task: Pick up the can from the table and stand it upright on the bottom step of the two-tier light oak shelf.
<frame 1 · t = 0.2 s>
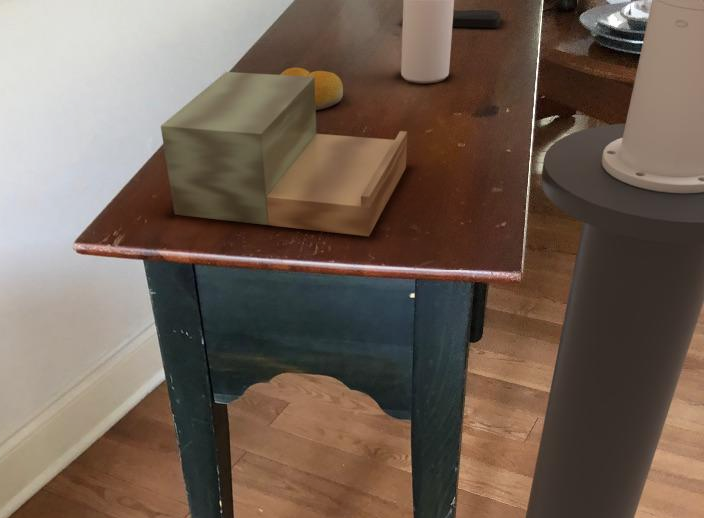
remote control: (451, 24, 129), on the table
shelf: (294, 190, 83), on the table
bread roll: (307, 102, 103), on the table
can: (424, 78, 109), on the table
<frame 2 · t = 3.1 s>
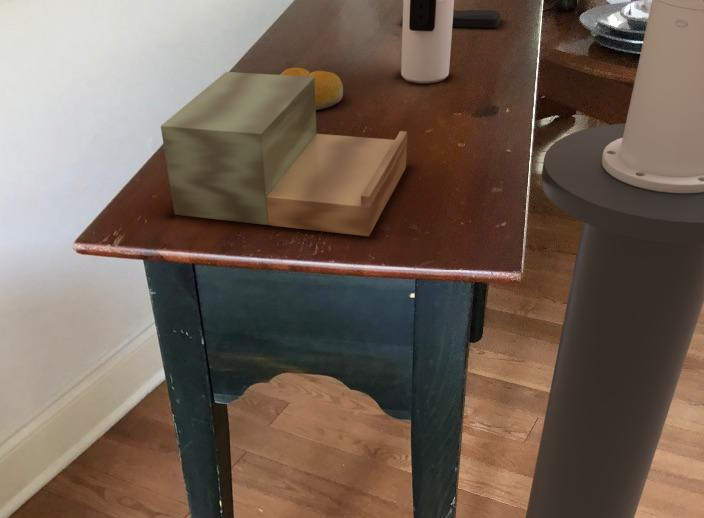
hand: (427, 21, 104), 7 cm above the table, tool pointing down, fingers closed on can, 6 cm apart
can: (424, 78, 109), on the table, touching gripper
everything else where it was.
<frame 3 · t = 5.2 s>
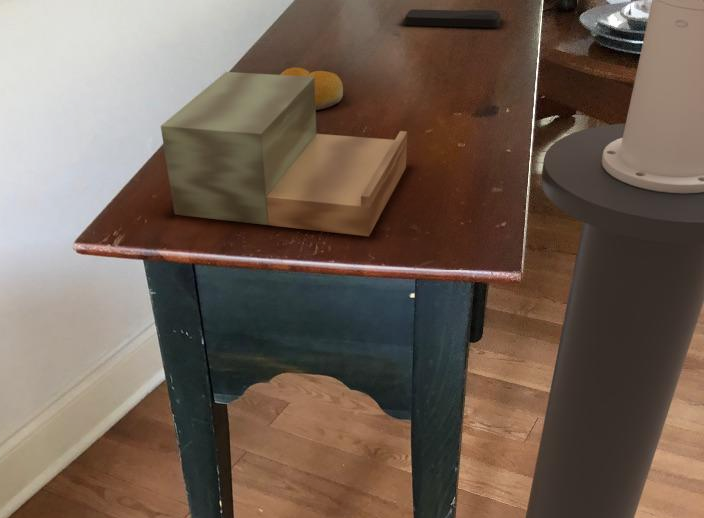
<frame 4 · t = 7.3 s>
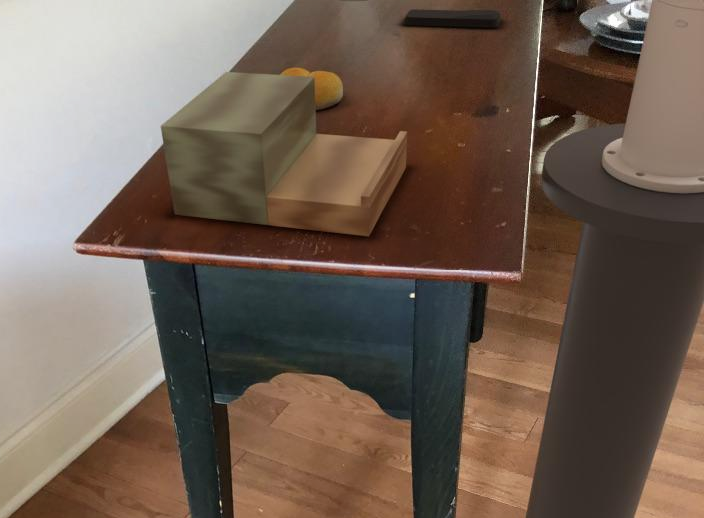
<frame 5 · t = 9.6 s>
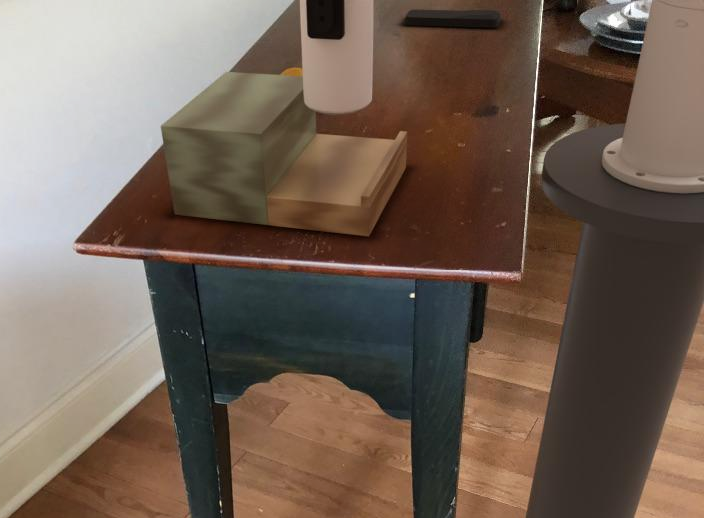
hand: (337, 24, 71), 16 cm above the table, tool pointing down, fingers closed on can, 6 cm apart
can: (338, 106, 76), point 9 cm above the table, touching gripper
everything else where it was.
when the fingers open (10 cm above the table, at t = 11.6 s): can stays where it is, resting on shelf.
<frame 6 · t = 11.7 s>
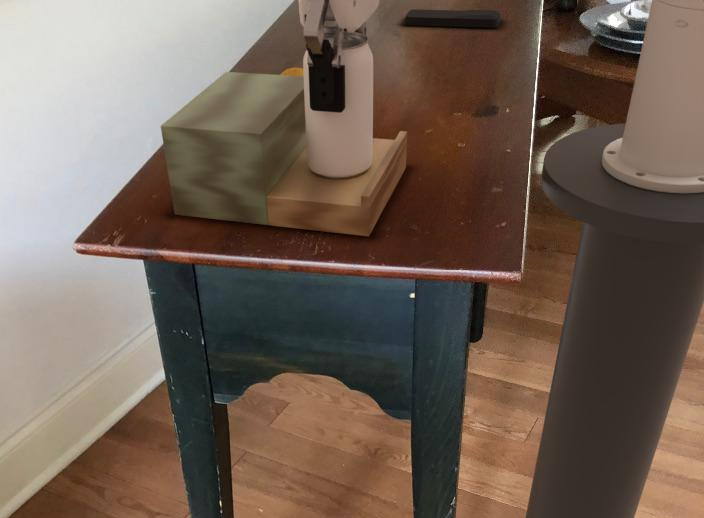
hand: (338, 95, 75), 10 cm above the table, tool pointing down, fingers open, 6 cm apart
can: (339, 168, 80), point 3 cm above the table, touching shelf
everything else where it was.
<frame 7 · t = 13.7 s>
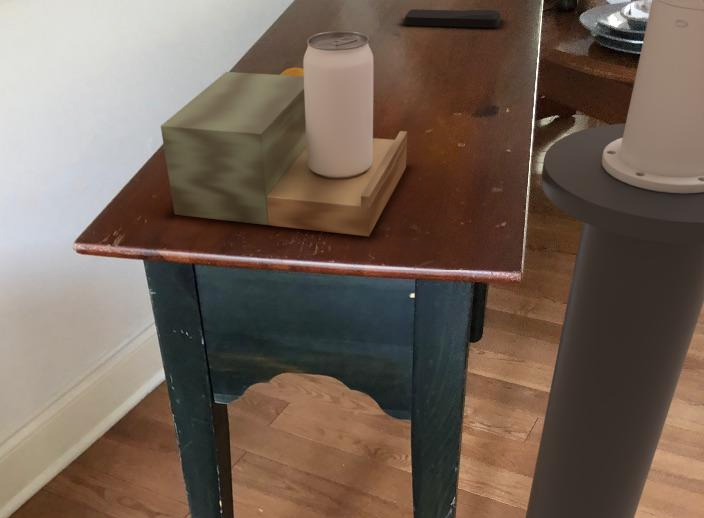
nothing on the table moved.
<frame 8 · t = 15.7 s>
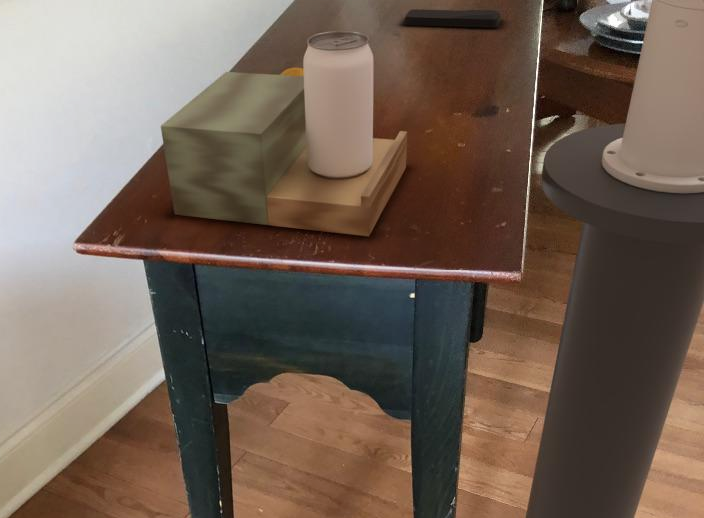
nothing on the table moved.
at the end: can inside the target area on the shelf (0.1 cm from its centre), point 2.8 cm above the shelf's base; can tilted 0° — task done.
